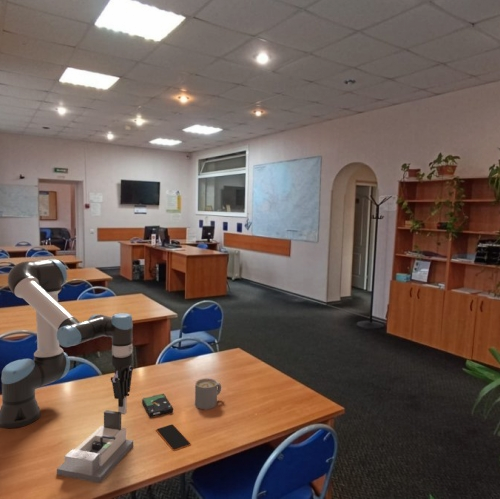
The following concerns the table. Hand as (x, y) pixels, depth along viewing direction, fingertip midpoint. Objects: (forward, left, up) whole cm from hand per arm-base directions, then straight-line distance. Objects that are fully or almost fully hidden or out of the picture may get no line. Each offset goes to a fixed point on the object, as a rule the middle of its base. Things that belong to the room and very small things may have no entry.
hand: (122, 413), depth 153 cm
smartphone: (+20, +3, -9) cm, 22 cm away
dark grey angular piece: (+1, -14, -6) cm, 15 cm away
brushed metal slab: (0, -25, -7) cm, 26 cm away
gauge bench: (0, -16, -9) cm, 18 cm away
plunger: (0, -9, -6) cm, 11 cm away
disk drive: (+4, +23, -9) cm, 25 cm away
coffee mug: (+25, +33, -9) cm, 42 cm away
